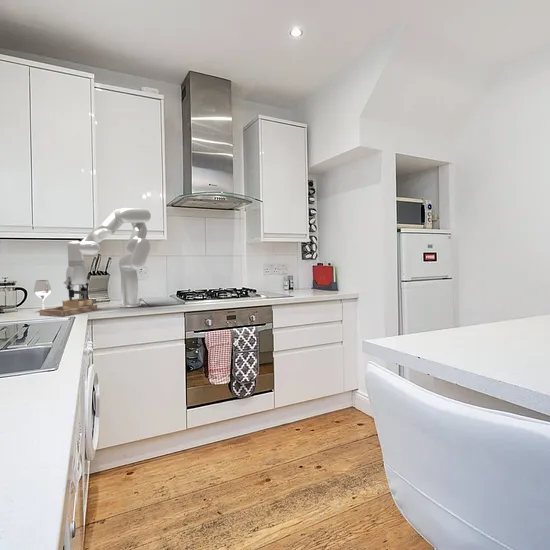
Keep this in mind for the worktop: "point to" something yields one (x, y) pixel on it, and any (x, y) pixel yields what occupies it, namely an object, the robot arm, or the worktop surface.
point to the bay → (66, 311)
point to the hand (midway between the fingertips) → (77, 296)
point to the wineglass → (42, 289)
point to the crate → (77, 302)
